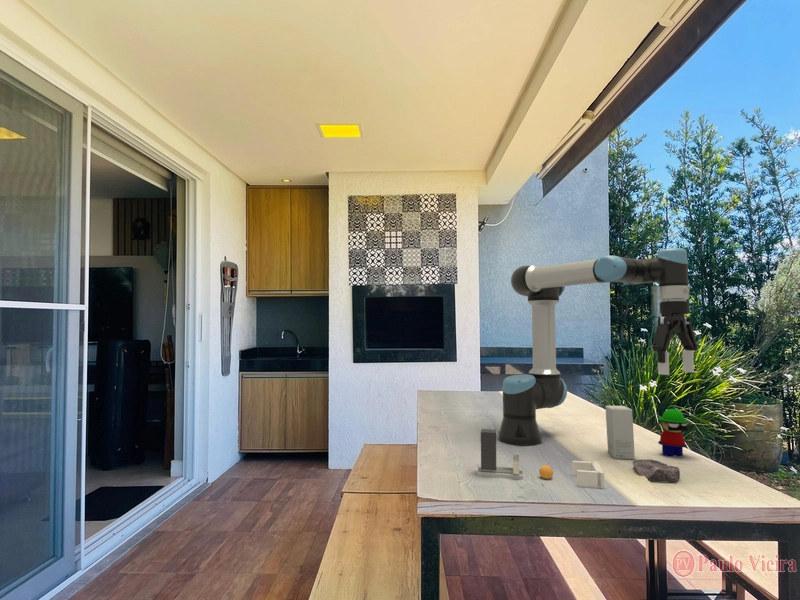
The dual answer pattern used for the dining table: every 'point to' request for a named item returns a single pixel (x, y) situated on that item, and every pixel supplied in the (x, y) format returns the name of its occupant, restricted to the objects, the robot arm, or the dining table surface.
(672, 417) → the toy
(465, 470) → the dining table surface
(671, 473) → the rock
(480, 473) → the pitch
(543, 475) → the ball
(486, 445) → the dark textured box
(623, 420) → the skincare box
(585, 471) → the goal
